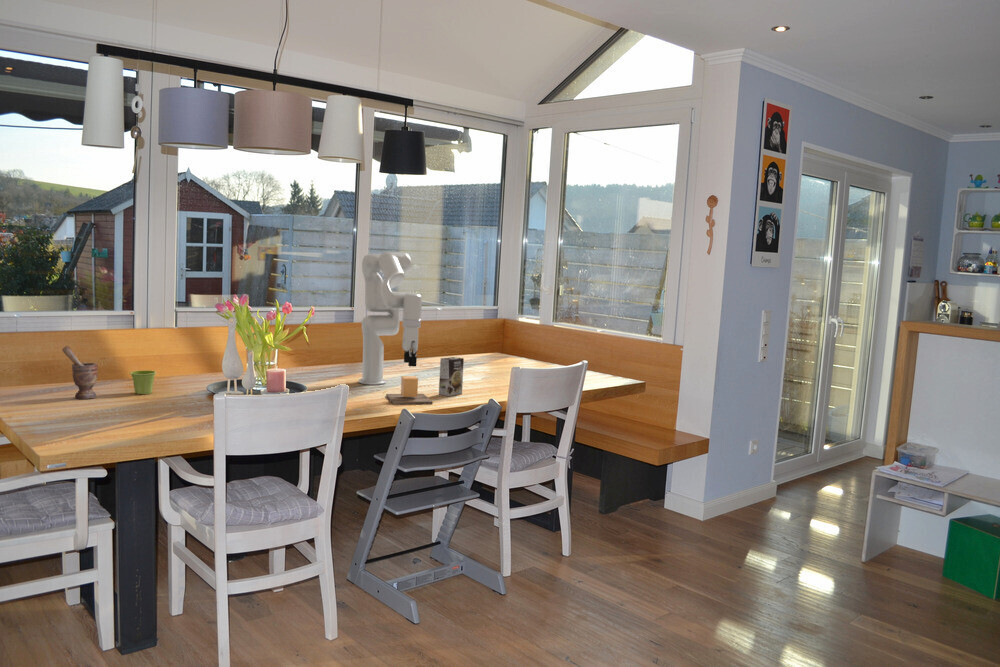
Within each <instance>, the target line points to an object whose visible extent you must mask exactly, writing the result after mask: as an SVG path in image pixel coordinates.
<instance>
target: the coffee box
mask: <svg viewBox="0 0 1000 667" xmlns="http://www.w3.org/2000/svg"><path fill="white" fill-rule="evenodd" d="M464 360H465V359H464V357H463V358H462V357H454V356H451V357H440V364H439V379H438V380H439V384H438V395H442V396H445V397H452V396H453V397H454V396H458V395H462V394H463V386H464V385H463V383H464V382H463V381H464V380H463V379H464V378H463V377H464Z"/></svg>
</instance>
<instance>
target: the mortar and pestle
mask: <svg viewBox="0 0 1000 667" xmlns="http://www.w3.org/2000/svg"><path fill="white" fill-rule="evenodd" d="M62 352H63V353H64V354H65V356H66V357H68V358H67V359H70V361H71V362H72V363H73V364H72V365H71V370H72V379H73V382H74V385H75V386H76V387H78V391H77V392H76V393H75V396H74V399H76V398H80V399H79V400H88V399H89V398H92V399H96V398H97V393H96V392H95V391H94V390H93V387H94V385H96V383H97V380H98V363H97V362H81V361H80V360H79V359H78V357H77V355H76V354H75V352H74V351H73V349H72V348H71V347H70V346H69V345H67V346H66V345H65V347H63V348H62ZM95 397H96V398H95ZM89 400H90V399H89Z"/></svg>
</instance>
